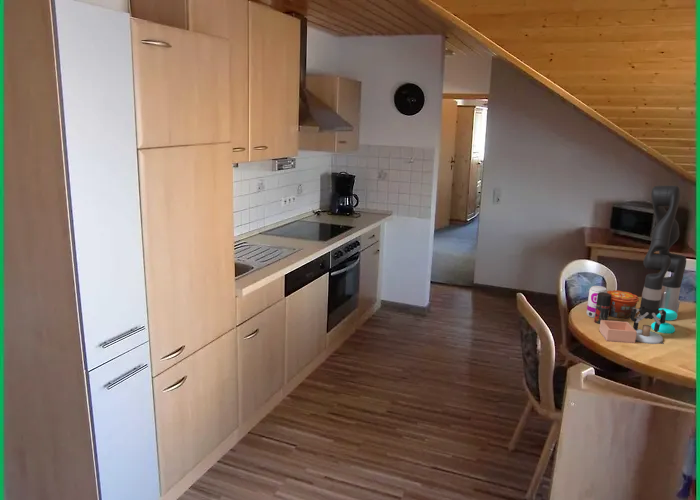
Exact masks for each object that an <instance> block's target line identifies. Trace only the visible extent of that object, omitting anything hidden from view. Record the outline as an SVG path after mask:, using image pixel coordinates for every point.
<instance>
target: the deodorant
mask: <svg viewBox="0 0 700 500" xmlns="http://www.w3.org/2000/svg"><path fill="white" fill-rule="evenodd" d="M610 302H611V294H609V293H604V292H599V293H598V297H597V304H596V311H595V318H593V322H594V323H595V324H597V325H600V321H601V320H608V321H609V308H610Z"/></svg>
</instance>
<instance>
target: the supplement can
mask: <svg viewBox="0 0 700 500" xmlns="http://www.w3.org/2000/svg"><path fill="white" fill-rule="evenodd" d="M588 290H589V291H588V292H589V293H588V299H587V306H586V315H587V316H588V317H590V318H593V319H594V318H595V311H596V304H597V297H598V293H599V292H604V293H607V291H608V290H607V288H606V287H605V286H601V285H592V286H591V287H590V288H589V289H588Z"/></svg>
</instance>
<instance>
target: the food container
mask: <svg viewBox="0 0 700 500" xmlns="http://www.w3.org/2000/svg"><path fill="white" fill-rule="evenodd" d="M607 293H609V294H611V302H610V308H609V315H608V317H612V318H616V319H622V320H628V319H629V320H630V315H631V311H632V308H633V307H634V308H636V307H637V304H638V302H639V301H640V298H639V297H638V295H636V294H633V293H631V292H630V291H629V292H628V291H622V290H615V289H614V290H607Z"/></svg>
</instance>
